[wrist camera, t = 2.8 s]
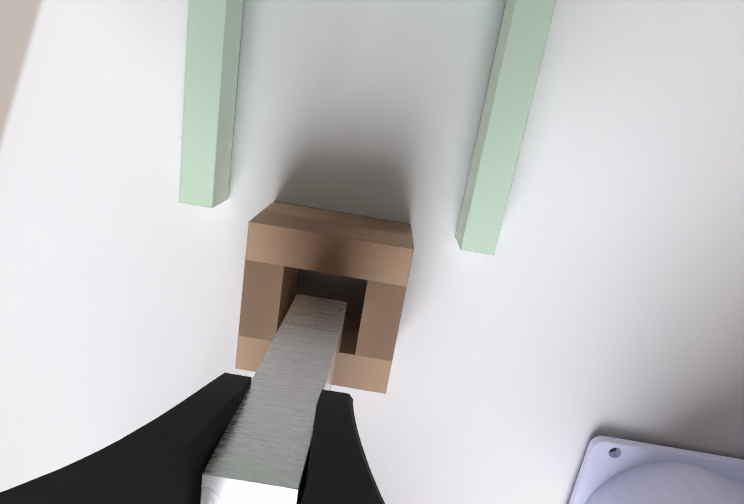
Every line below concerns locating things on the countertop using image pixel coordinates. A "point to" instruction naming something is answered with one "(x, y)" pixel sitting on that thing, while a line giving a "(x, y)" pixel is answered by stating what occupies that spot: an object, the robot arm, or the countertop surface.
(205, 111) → the green u-shaped bracket
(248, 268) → the walnut block
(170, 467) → the robot arm
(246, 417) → the grey upright post
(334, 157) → the countertop surface
